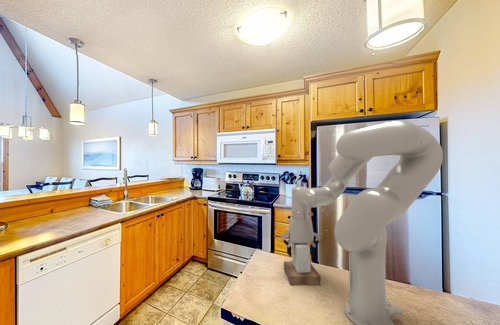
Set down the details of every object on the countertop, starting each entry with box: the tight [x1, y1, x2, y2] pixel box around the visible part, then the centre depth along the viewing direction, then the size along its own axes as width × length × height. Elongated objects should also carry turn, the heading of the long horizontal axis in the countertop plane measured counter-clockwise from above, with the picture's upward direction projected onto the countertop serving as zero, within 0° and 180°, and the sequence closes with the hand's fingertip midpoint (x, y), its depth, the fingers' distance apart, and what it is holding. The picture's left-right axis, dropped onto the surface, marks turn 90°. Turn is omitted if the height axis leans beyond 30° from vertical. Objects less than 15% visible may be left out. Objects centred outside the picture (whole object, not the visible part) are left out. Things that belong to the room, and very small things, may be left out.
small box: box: [291, 243, 311, 273], centre depth 78 cm, size 8×6×10 cm
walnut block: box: [283, 260, 321, 287], centre depth 78 cm, size 12×12×4 cm
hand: (300, 255), depth 78 cm, fingers open, 9 cm apart
